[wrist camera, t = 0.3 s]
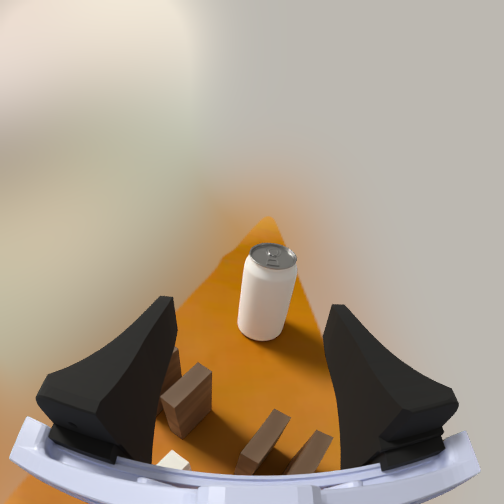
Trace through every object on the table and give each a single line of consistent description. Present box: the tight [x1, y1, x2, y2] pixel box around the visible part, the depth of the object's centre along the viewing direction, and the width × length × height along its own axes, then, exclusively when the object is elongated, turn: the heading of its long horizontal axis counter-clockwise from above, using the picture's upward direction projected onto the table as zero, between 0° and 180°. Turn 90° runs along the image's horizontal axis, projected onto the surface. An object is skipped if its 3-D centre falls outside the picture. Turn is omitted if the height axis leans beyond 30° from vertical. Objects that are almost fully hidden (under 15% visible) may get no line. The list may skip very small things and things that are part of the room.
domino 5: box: [282, 430, 333, 475], centre depth 19 cm, size 2×5×8 cm, turn 148°
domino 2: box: [160, 363, 212, 440], centre depth 24 cm, size 2×5×8 cm, turn 148°
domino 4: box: [234, 409, 291, 476], centre depth 21 cm, size 2×5×8 cm, turn 148°
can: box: [238, 243, 297, 341], centre depth 37 cm, size 6×6×12 cm
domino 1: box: [156, 347, 182, 416], centre depth 26 cm, size 2×5×8 cm, turn 147°
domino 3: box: [157, 450, 192, 471], centre depth 16 cm, size 2×5×8 cm, turn 148°
